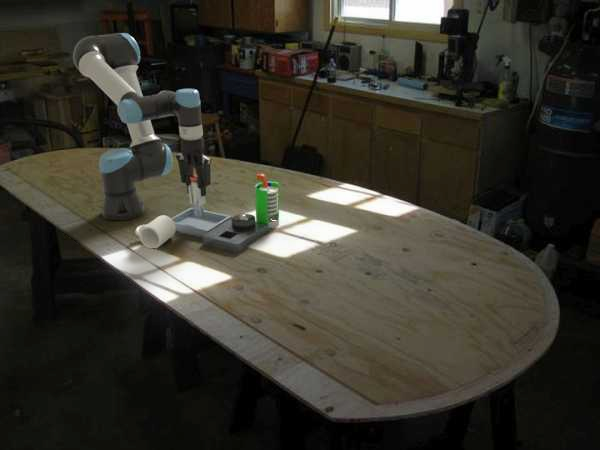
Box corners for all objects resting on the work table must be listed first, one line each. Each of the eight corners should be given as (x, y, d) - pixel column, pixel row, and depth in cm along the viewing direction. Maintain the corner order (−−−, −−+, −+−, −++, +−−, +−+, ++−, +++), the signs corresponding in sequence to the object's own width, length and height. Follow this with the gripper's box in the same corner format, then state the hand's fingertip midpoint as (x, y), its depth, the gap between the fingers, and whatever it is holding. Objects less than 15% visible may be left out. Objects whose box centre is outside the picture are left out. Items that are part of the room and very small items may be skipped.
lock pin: (190, 215, 209) (186, 177, 203) (197, 211, 212) (194, 173, 206) (200, 217, 207) (196, 178, 201) (207, 213, 210) (203, 175, 204)
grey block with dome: (203, 244, 198) (201, 225, 195) (234, 224, 212) (233, 207, 210) (238, 252, 192) (237, 234, 189) (268, 231, 206) (267, 214, 204)
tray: (166, 229, 210) (165, 221, 209) (191, 214, 221) (191, 207, 220) (208, 239, 202) (207, 230, 201) (232, 223, 213) (231, 216, 212)
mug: (177, 238, 203) (175, 216, 200) (161, 250, 194) (159, 228, 191) (146, 233, 207) (143, 212, 203) (129, 246, 198) (126, 223, 195)
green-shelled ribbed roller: (275, 229, 208) (274, 180, 201) (253, 228, 210) (250, 179, 202) (281, 219, 216) (280, 171, 209) (260, 217, 218) (257, 170, 210)
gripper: (164, 137, 199) (172, 203, 208) (204, 142, 192) (210, 211, 201) (179, 131, 205) (186, 196, 214) (218, 137, 198) (223, 203, 207)
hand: (197, 203), depth 208 cm, fingers closed on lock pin, 3 cm apart
